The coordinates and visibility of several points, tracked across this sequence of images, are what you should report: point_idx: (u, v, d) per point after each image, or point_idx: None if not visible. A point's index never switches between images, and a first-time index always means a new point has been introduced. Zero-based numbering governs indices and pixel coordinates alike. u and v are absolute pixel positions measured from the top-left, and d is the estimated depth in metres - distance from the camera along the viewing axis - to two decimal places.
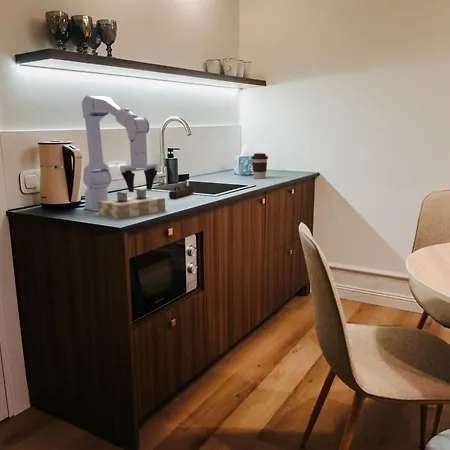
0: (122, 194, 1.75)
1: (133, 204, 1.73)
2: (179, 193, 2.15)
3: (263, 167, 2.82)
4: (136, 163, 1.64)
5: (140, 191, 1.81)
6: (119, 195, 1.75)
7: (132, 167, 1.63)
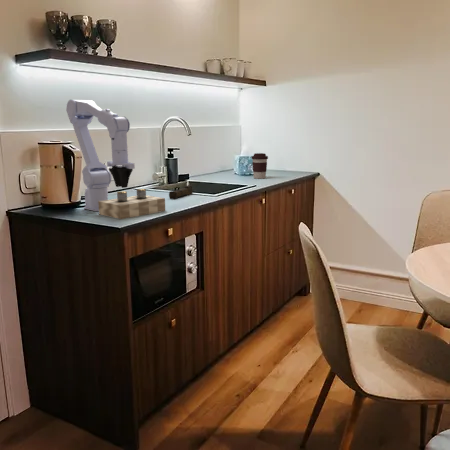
0: (122, 194, 1.75)
1: (133, 204, 1.73)
2: (179, 193, 2.15)
3: (263, 167, 2.82)
4: None
5: (140, 191, 1.81)
6: (119, 195, 1.75)
7: (110, 163, 1.76)
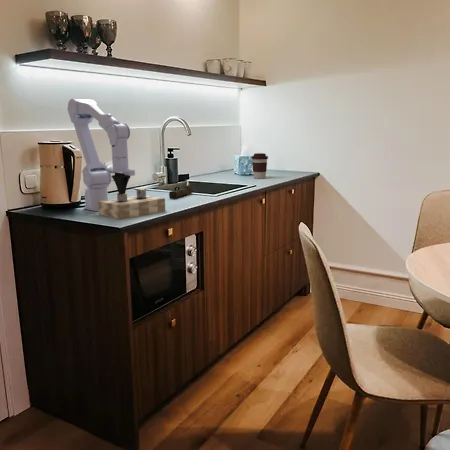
0: (122, 196, 1.75)
1: (133, 204, 1.73)
2: (179, 193, 2.15)
3: (263, 167, 2.82)
4: None
5: (140, 191, 1.81)
6: (119, 197, 1.75)
7: (110, 170, 1.76)
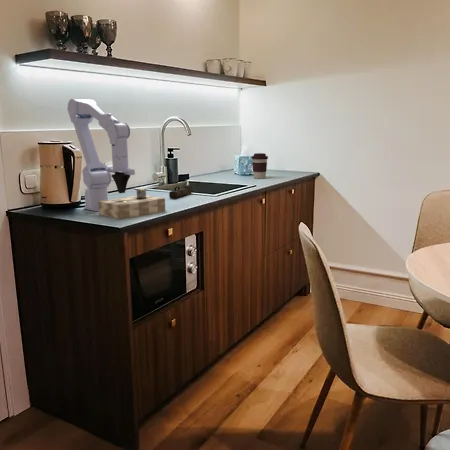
0: None
1: (133, 204, 1.73)
2: (179, 193, 2.15)
3: (263, 167, 2.82)
4: None
5: (140, 191, 1.81)
6: None
7: (110, 169, 1.76)
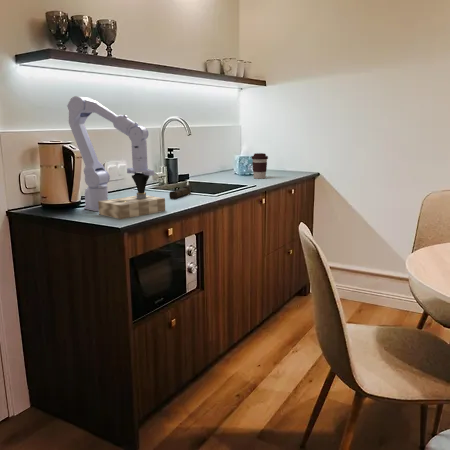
0: None
1: (133, 204, 1.73)
2: (179, 193, 2.15)
3: (263, 167, 2.82)
4: None
5: (140, 194, 1.82)
6: None
7: (130, 170, 1.83)
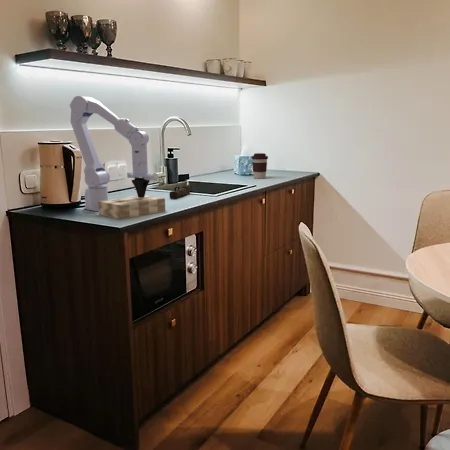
0: None
1: (133, 204, 1.73)
2: (179, 193, 2.15)
3: (263, 167, 2.82)
4: None
5: None
6: None
7: (130, 174, 1.83)
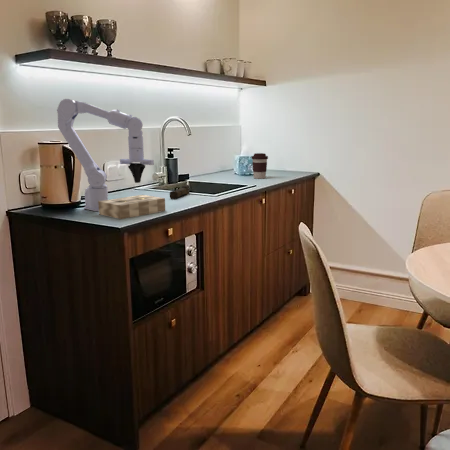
0: None
1: (133, 204, 1.73)
2: (179, 193, 2.15)
3: (263, 167, 2.82)
4: (129, 157, 1.86)
5: None
6: None
7: (125, 160, 1.87)
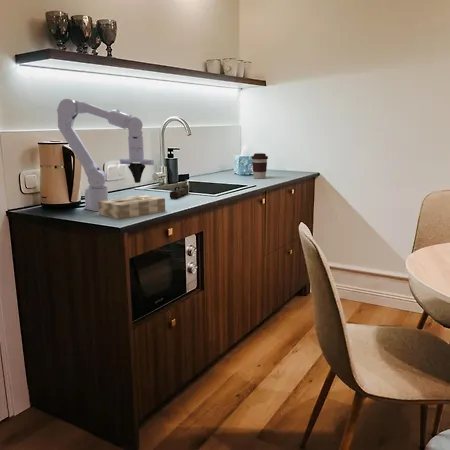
0: None
1: (133, 204, 1.73)
2: (179, 193, 2.15)
3: (263, 167, 2.82)
4: (129, 157, 1.86)
5: None
6: None
7: (125, 160, 1.87)
